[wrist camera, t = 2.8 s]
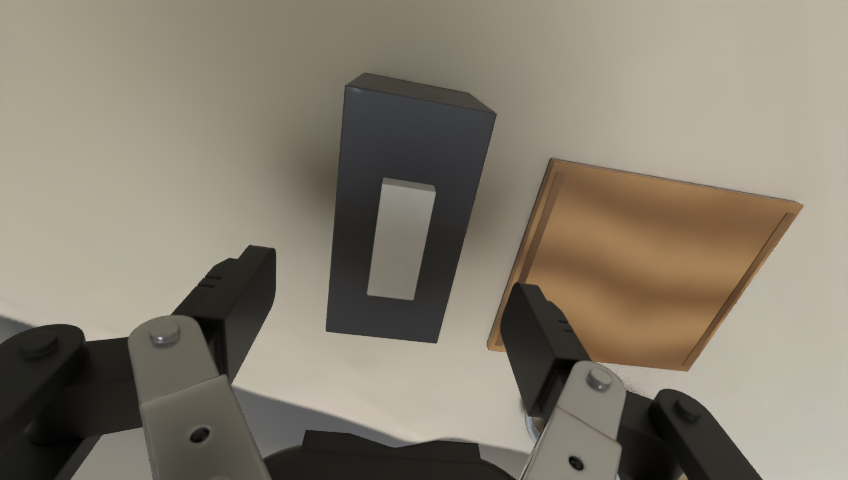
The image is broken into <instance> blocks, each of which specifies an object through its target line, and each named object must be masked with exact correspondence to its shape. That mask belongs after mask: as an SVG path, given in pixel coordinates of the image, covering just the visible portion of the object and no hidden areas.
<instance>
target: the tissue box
mask: <svg viewBox="0 0 848 480" xmlns="http://www.w3.org/2000/svg"><path fill="white" fill-rule="evenodd" d="M496 116H497V114H496V113H495V112H494V111H492V110H491V109H490V108H488V107H487V106H485V105H484V104H483V103H481V102H480V101H479V100H477V99H476V98H475V97H473V96H472V95H471V94H469V93H466V92H461V91H456V90H451V89H445V88H440V87H435V86H430V85H425V84H420V83H415V82H410V81H404V80H399V79H394V78H389V77H384V76H379V75H374V74H368V73H363V74H362V75H360V76H359V77H357V78H356V79H354V80H353V81H351V82H350V83H348V84H347V85H345V93H344V105H343V118H342V130H341V143H340V156H339V168H338V181H337V193H336V206H335V218H334V231H333V243H332V256H331V269H330V281H329V294H328V306H327V319H326V332H334V333H343V334H352V335H362V336H371V337H380V338H390V339H399V340H408V341H417V342H427V343H437V341H438V337H439V333H440V330H441V326H442V322H443V318H444V314H445V310H446V307H447V303H448V299H449V295H450V291H451V288H452V284H453V280H454V276H455V272H456V268H457V265H458V261H459V257H460V253H461V249H462V246H463V242H464V238H465V234H466V230H467V226H468V223H469V219H470V215H471V211H472V207H473V204H474V200H475V196H476V192H477V188H478V185H479V181H480V177H481V173H482V169H483V165H484V162H485V158H486V154H487V150H488V146H489V143H490V139H491V135H492V131H493V127H494V123H495V120H496Z"/></svg>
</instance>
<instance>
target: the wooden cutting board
mask: <svg viewBox="0 0 848 480" xmlns="http://www.w3.org/2000/svg"><path fill="white" fill-rule="evenodd" d="M803 206H804V205H803V204H800V203H798V202H795V201H789V200H783V199H778V198H772V197H766V196H761V195H755V194H749V193H744V192H738V191H733V190H727V189H721V188H716V187H710V186H704V185H699V184H693V183H687V182H682V181H676V180H671V179H665V178H659V177H654V176H648V175H642V174H637V173H631V172H625V171H620V170H614V169H609V168H603V167H597V166H592V165H586V164H580V163H575V162H569V161H563V160H558V159H551V160H550V163H549V165H548V168H547V171H546V174H545V177H544V180H543V183H542V186H541V189H540V192H539V195H538V197H537V200H536V203H535V206H534V209H533V212H532V215H531V218H530V221H529V224H528V227H527V229H526V232H525V235H524V238H523V241H522V244H521V247H520V250H519V253H518V256H517V259H516V261H515V264H514V267H513V270H512V273H511V276H510V279H509V282H508V285H507V288H506V291H505V293H504V296H503V299H502V302H501V305H500V308H499V311H498V314H497V317H496V320H495V323H494V325H493V328H492V331H491V334H490V337H489V340H488V343H487V347H488V350H491V351H500V352H506V349H505V346H504V343H503V340H502V337H501V333H500V322H501V317H502V314H503V311H504V309H505V306H506V303H507V300H508V297H509V294H510V291H511V289H512V286H513V285H514V283H516V282H520V283H527V284H534V285H538V286H539V287H540V289H541V291H542V293H543V294H544V296H545V298H546V300H547V301H551V302H553V303H554V304H555V305H556V306H557V307H558V308H559V309H560V310H561V311H562V312H563V313H564V315H565V317H566V318H567V320H568V322H569V324H570V325H571V327H572V328H573V330H574V333H576V335H577V337H578V338H579V340H580V342H581V343H582V345H583V347H584V348H585V350H586V352H587V353H588V355H589V357H590V358H591V360H592V361H593V362H603V363H612V364H621V365H630V366H640V367H649V368H658V369H668V370H677V371H686V372H687V371H688V370H689V369H690V368H691V366H692V365H693V363H694V362H695V361H696V359H697V358H698V356H699V355H700V353H701V352H702V351H703V349H704V348H705V346H706V345H707V343H708V342H709V341H710V339H711V338H712V336H713V335H714V333H715V332H716V331H717V329H718V328H719V326H720V325H721V323H722V322H723V321H724V319H725V318H726V316H727V315H728V313H729V312H730V311H731V309H732V308H733V306H734V305H735V303H736V302H737V301H738V299H739V298H740V296H741V295H742V293H743V292H744V291H745V289H746V288H747V286H748V285H749V283H750V282H751V281H752V279H753V278H754V276H755V275H756V273H757V272H758V271H759V269H760V268H761V266H762V265H763V264H764V262H765V261H766V259H767V258H768V256H769V255H770V254H771V252H772V251H773V249H774V248H775V246H776V245H777V244H778V242H779V241H780V239H781V238H782V236H783V235H784V234H785V232H786V231H787V229H788V228H789V226H790V225H791V224H792V222H793V221H794V219H795V218H796V216H797V215H798V214H799V212H800V211H801V209H802V208H803Z"/></svg>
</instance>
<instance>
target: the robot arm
mask: <svg viewBox="0 0 848 480" xmlns="http://www.w3.org/2000/svg"><path fill="white" fill-rule="evenodd" d="M275 292H276V251H275V249H274V248H268V247H261V246H253V245H249V246H248V247H247V248H246V249H245V251H244V252H243V253H242V254H241V256H240V257H239V258H238V259H233V258H228V259H226V260H224V261H222V262H220V263H219V264H217V265H215V266H214V267H213V268H212V269H211V270H210V271H209V272H208V273H207V275H206V276H205V278H203V279H202V280H201V281H200V282H199V284H198V286H196V287H195V288H194V289H193V290H192V291H191V293H190V294H189V295H188V296H187V297H186V298H185V299H184V300H183V302H182V303H181V304H180V305H179V306H178V307H177V308H176V309H175V311H174V312H173V313H172V314H171V315H167V316H161V317H158V318H154V319H152V320H149V321H147V322H145V323H143V324H141V325H140V326H138V327H137V328H136V329H134V331H133V332H132V333H131V334H130V336H129V337H124V338H116V339H106V340H97V341H87V342H86V340H85V336H84V333H83V331H82V330H81V329H80V328H78V327H76V326H73V325H67V324H53V325H45V326H40V327H36V328H33V329H29V330H26V331H24V332H21V333H19V334H17V335H14V336H12V337H11V338H9V339H7V340H6V341H4V342H3V343H1V344H0V480H70V479H71V478H72V476H73V475H74V474H75V472H76V471H77V470H78V468H79V467H80V465H81V464H82V463H83V461H84V460H85V458H86V457H87V456H88V454H89V453H90V451H91V450H92V449H93V447H94V446H95V444H96V443H97V441H98V440H99V439H100V437H101V436H102V435H104V434H109V433H114V432H119V431H125V430H130V429H135V428H140V427H143V429H144V435H145V440H146V445H147V451H148V455H149V461H150V466H151V471H152V477H153V480H516V479H515V478H513V477H512V476H510V474H508V473H507V472H506V471H504V470H503V469H501V468H499V467H497V466H496V465H494V464H492V463H490V462H488V461H486V460H483V459H481V458H480V453H479V447H478V444H477V443H464V442H452V441H439V440H437V441H431V442H426V443H420V444H415V445H410V446H404V447H398V448H393V447H389V446H386V445H383V444H380V443H377V442H374V441H371V440H368V439H365V438H362V437H359V436H356V435H353V434H350V433H338V432H325V431H313V430H306V432H305V435H304V439H303V443H302V445H298V446H293V447H289V448H286V449H283V450H280V451H278V452H275V453H273V454H271V455H269V456H267V457H265V458H262V456H261V454H260V451H259V449H258V447H257V444H256V442H255V440H254V437H253V435H252V433H251V431H250V428H249V426H248V424H247V421H246V419H245V417H244V414H243V412H242V409H241V407H240V405H239V402H238V400H237V398H236V395H235V393H234V391H233V388H232V386H231V384H232V382H233V380H234V378H235V377H236V375H237V373H238V371H239V369H240V367H241V365H242V363H243V361H244V359H245V357H246V355H247V354H248V352H249V350H250V348H251V346H252V344H253V342H254V340H255V338H256V336H257V334H258V332H259V331H260V329H261V327H262V325H263V323H264V321H265V319H266V317H267V315H268V313H269V311H270V309H271V307H272V305H273V302H274V298H275ZM500 333H501V337H502V340H503V343H504V346H505V349H506V352H507V355H508V358H509V361H510V364H511V367H512V370H513V373H514V376H515V379H516V382H517V385H518V388H519V391H520V394H521V397H522V400H523V403H524V406H525V409H526V412H527V415H528V417H539V418H543V420H544V422H545V424H544V426H543V428H542V430H541V433H540V435H539V437H538V439H537V441H536V443H535V446H534V448H533V450H532V452H531V454H530V457H529V459H528V461H527V463H526V465H525V468H524V470H523V472H522V474H521V476H520V478H519V480H616V477H617V474H618V476H619V478H620V480H678V479H679V478H680V477H681V475H682V474H683V473H684V474H685V475H686V477H687V479H688V480H763V479H762V478H761V477H760V476H759V474H758V473H757V472H756V470H755V469H754V468H753V467H752V465H751V464H750V463H749V462H748V460H747V459H746V458H745V456H744V455H743V454H742V453H741V451H740V450H739V449H738V448H737V446H736V445H735V444H734V442H733V441H732V440H731V439H730V437H729V436H728V435H727V433H726V432H725V431H724V430H723V428H722V427H721V426H720V425H719V423H718V422H717V421H716V419H715V418H714V417H713V416H712V414H711V413H710V412H709V411H708V410H707V409H706V408H705V407H704V406H703V405H702V404H700V403H699V402H698V401H696V400H695V399H693V398H692V397H690V396H688V395H686V394H684V393H682V392H680V391H677V390H673V389H663V390H661V391H659V392H658V394H657V395H656V397H655V398H654V400H652V399H649V398H646V397H643V396H640V395H638V394H635V393H632V392H629V391H627V390H626V388H625V386H624V384H623V382H622V381H621V380H620V378H619V377H618V376H617V375H616V374H615V373H613V372H612V371H611V370H609V369H608V368H606V367H605V366H603V365H601V364H598V363H596V362H592V360H591V358H590V357H589V355H588V353H587V352H586V350H585V348H584V347H583V345H582V343H581V342H580V340H579V338H578V337H577V335H576V333H574V330H573V328H572V327H571V325H570V324H569V322H568V320H567V318H566V317H565V315H564V313H563V312H562V311H561V310H560V309H559V308H558V307H557V306H556V305H555V304H554V303H553V302H551V301H547V300H546V298H545V296H544V294H543V293H542V291H541V289H540V287H539V286H538V285H534V284H527V283H520V282H516V283H514V285H513V286H512V289H511V291H510V294H509V297H508V300H507V303H506V306H505V309H504V311H503V314H502V317H501V322H500Z"/></svg>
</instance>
